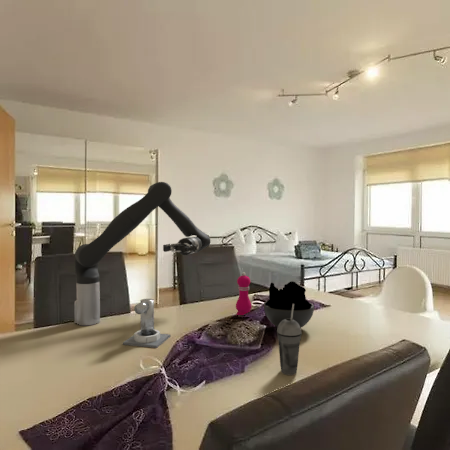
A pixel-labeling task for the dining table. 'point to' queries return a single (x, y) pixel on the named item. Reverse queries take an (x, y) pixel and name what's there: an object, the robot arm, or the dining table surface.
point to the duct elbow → (146, 316)
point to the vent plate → (151, 344)
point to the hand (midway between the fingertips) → (174, 249)
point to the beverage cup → (289, 344)
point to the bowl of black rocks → (288, 304)
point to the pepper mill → (243, 295)
